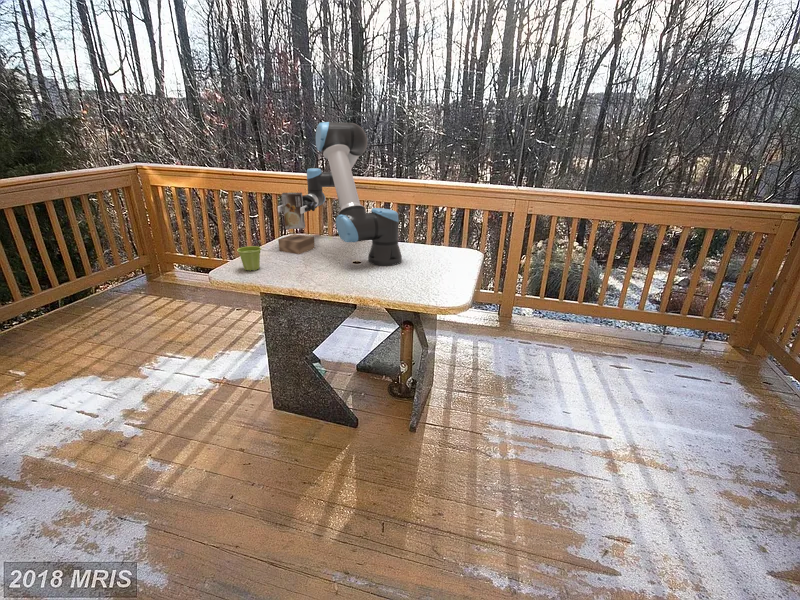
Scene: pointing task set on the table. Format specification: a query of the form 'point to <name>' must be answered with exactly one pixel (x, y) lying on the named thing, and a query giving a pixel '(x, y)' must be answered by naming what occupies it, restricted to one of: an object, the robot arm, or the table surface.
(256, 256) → the plant pot
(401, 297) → the table surface
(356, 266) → the table surface
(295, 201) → the coffee box
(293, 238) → the walnut block
